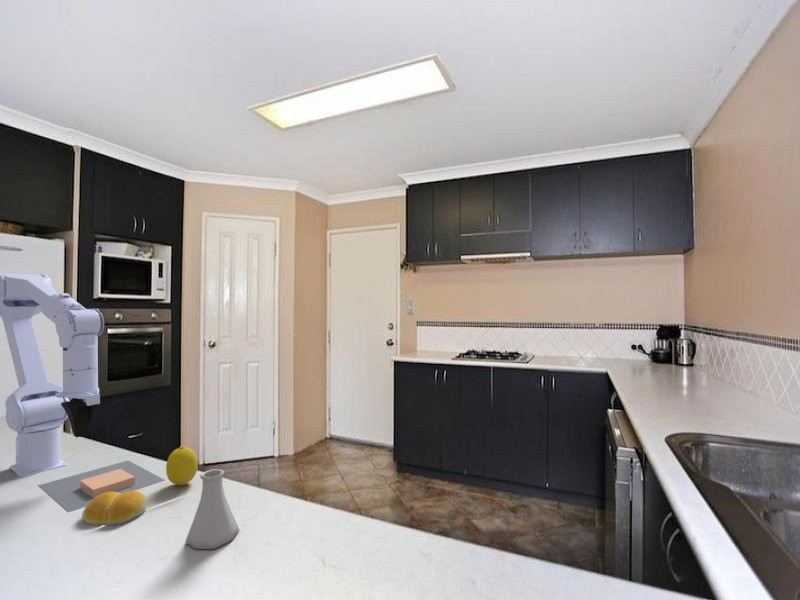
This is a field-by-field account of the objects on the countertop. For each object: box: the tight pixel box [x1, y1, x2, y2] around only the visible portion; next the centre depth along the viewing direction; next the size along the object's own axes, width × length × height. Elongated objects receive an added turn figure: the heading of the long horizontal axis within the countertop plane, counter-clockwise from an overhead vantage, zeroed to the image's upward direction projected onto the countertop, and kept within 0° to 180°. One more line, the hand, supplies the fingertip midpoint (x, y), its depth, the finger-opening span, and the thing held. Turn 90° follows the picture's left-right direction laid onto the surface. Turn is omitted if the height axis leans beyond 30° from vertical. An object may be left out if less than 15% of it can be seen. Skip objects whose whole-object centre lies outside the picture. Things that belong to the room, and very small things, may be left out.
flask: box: [185, 468, 240, 550], centre depth 66 cm, size 7×7×10 cm
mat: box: [37, 460, 165, 513], centre depth 85 cm, size 18×16×1 cm
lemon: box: [165, 445, 199, 487], centre depth 84 cm, size 6×6×8 cm
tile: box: [80, 469, 135, 498], centre depth 83 cm, size 2×7×7 cm
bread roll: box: [81, 490, 148, 526], centre depth 73 cm, size 8×9×4 cm
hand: (81, 435), depth 86 cm, fingers closed
